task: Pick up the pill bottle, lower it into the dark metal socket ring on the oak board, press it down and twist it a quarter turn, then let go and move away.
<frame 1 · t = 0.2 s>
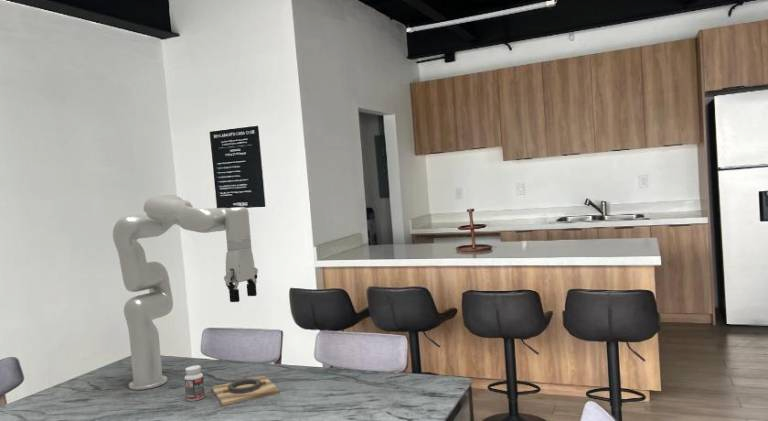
hand: (243, 298, 184), 31 cm above the table, tool pointing down, fingers open, 9 cm apart
socket board: (245, 391, 188), on the table
pill bottle: (195, 398, 184), on the table
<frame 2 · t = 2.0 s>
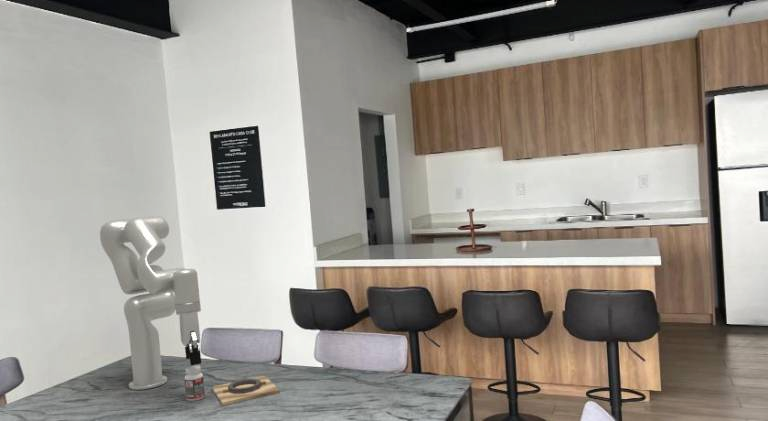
hand: (193, 361, 184), 12 cm above the table, tool pointing down, fingers open, 9 cm apart
nothing on the table moved.
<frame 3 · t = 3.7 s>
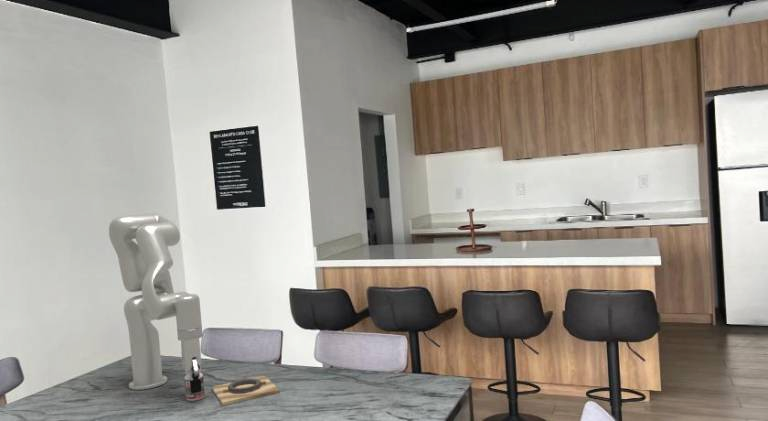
hand: (194, 388, 184), 3 cm above the table, tool pointing down, fingers closed on pill bottle, 5 cm apart
pill bottle: (195, 398, 184), on the table, touching gripper
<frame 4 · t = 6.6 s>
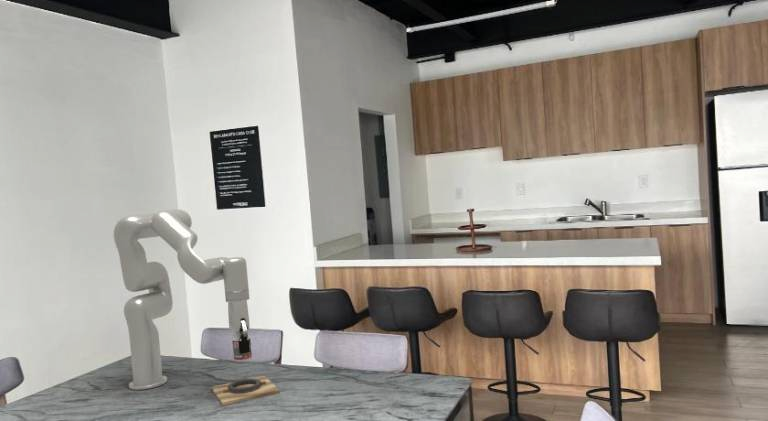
hand: (242, 350, 187), 14 cm above the table, tool pointing down, fingers closed on pill bottle, 5 cm apart
pill bottle: (243, 360, 187), point 10 cm above the table, touching gripper
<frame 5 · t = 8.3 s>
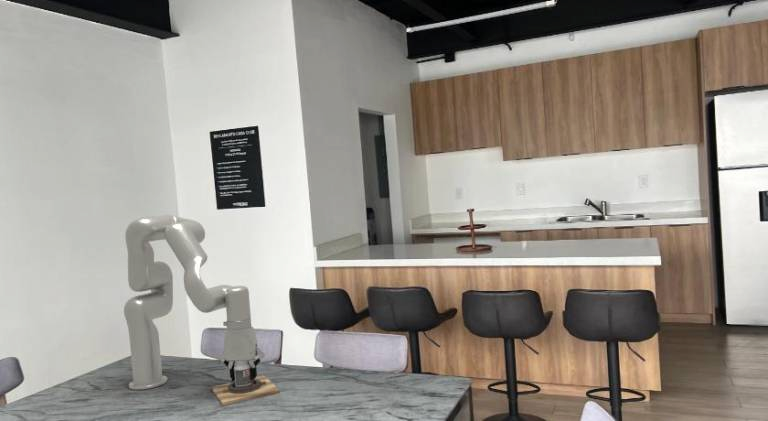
hand: (243, 378, 187), 4 cm above the table, tool pointing down, fingers closed on pill bottle, 5 cm apart
pill bottle: (244, 388, 187), point 1 cm above the table, touching gripper
when the fingers open (4 cm above the table, at t = 9.5 s): pill bottle stays where it is, resting on socket board.
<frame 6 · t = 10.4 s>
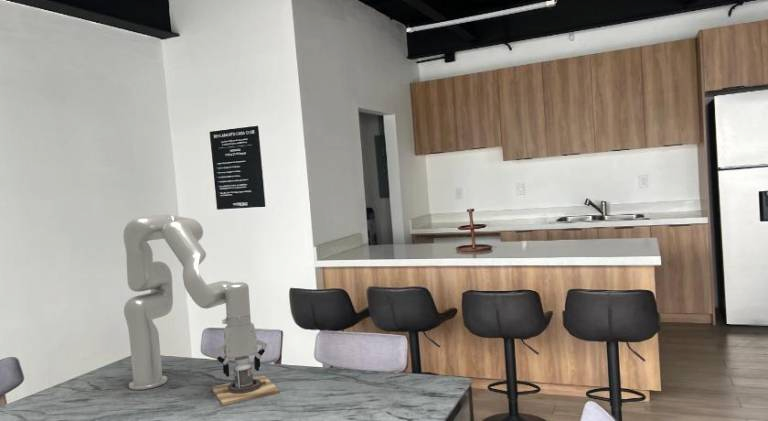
hand: (242, 372, 188), 6 cm above the table, tool pointing down, fingers open, 9 cm apart
pill bottle: (244, 388, 187), point 1 cm above the table, touching socket board
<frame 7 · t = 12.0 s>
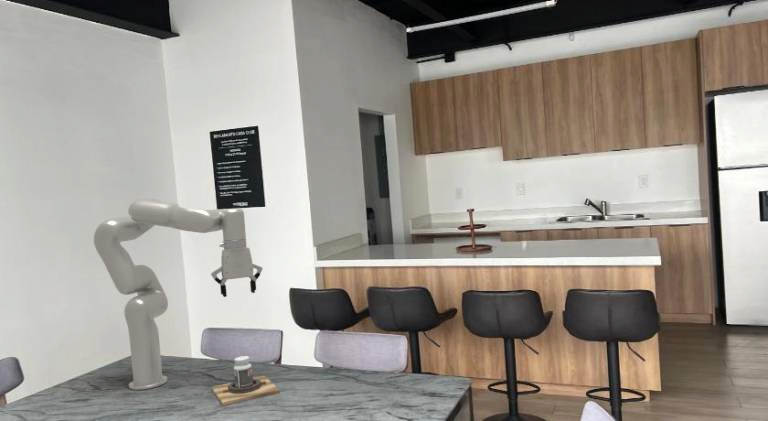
hand: (239, 294, 198), 30 cm above the table, tool pointing down, fingers open, 9 cm apart
nothing on the table moved.
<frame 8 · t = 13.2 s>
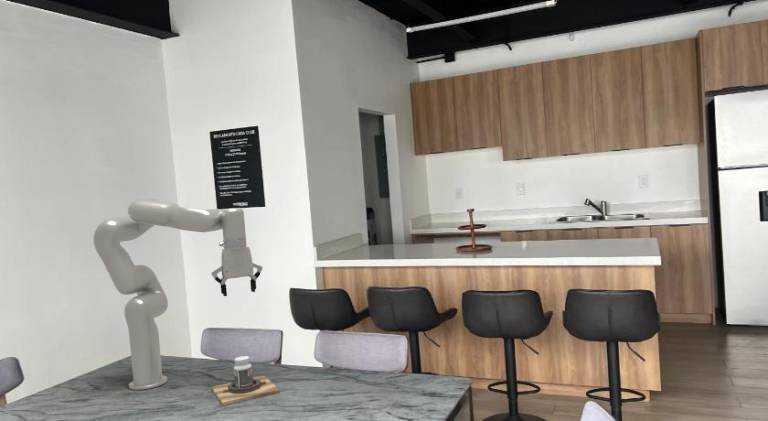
hand: (239, 293, 198), 30 cm above the table, tool pointing down, fingers open, 9 cm apart
nothing on the table moved.
at the end: pill bottle 0.1 cm off-centre on the socket board, point 0.8 cm above the socket board's base; pill bottle tilted 0°; the gripper is holding nothing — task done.
